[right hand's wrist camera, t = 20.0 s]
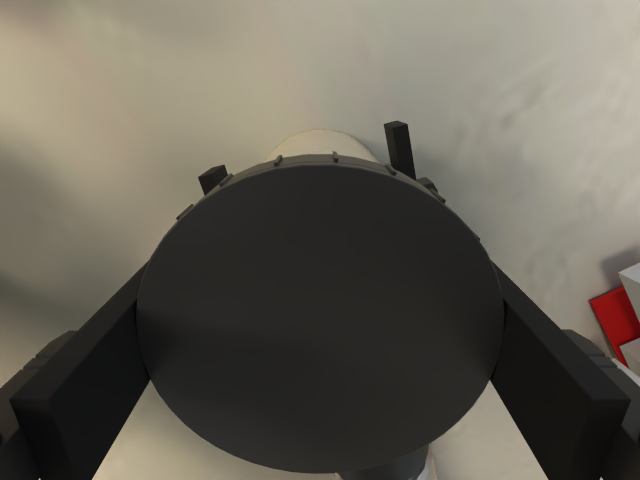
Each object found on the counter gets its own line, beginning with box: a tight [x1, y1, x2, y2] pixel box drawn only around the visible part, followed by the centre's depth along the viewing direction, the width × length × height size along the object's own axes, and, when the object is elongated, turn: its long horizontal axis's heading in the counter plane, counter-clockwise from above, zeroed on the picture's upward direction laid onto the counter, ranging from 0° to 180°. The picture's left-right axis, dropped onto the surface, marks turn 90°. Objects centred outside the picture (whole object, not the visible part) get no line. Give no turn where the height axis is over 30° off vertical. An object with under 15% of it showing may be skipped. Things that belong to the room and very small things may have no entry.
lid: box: [136, 151, 505, 474], centre depth 11 cm, size 10×10×2 cm
